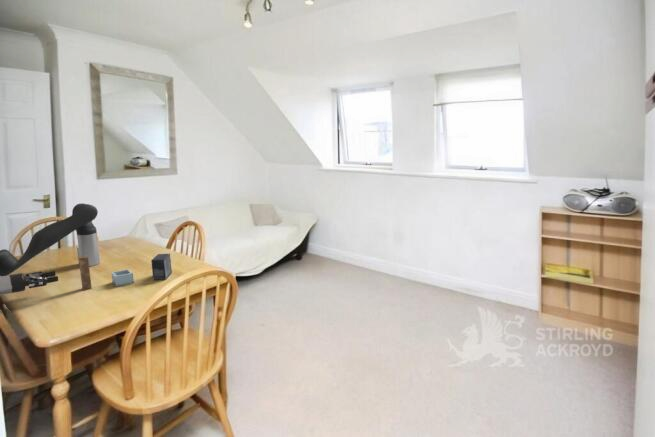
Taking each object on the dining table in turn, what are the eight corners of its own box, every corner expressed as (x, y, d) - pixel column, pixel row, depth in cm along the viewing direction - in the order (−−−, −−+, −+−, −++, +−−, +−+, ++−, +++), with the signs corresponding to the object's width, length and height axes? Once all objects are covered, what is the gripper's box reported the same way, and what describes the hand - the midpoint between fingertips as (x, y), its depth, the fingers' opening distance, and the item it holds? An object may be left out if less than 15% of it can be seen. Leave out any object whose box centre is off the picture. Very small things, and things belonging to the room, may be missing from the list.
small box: (159, 273, 205) (157, 253, 203) (172, 272, 206) (170, 253, 204) (152, 280, 195) (150, 259, 193) (166, 280, 196) (164, 259, 194)
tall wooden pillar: (83, 290, 182) (79, 258, 179) (82, 288, 184) (78, 256, 181) (91, 288, 184) (87, 257, 181) (90, 286, 186) (86, 255, 183)
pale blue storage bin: (116, 286, 186) (115, 276, 185) (112, 282, 192) (111, 272, 191) (133, 283, 191) (132, 273, 190) (129, 278, 197) (128, 269, 196)
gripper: (10, 287, 171) (55, 279, 182) (12, 298, 161) (60, 288, 171) (7, 271, 170) (53, 263, 180) (9, 280, 159) (57, 271, 170)
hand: (56, 275), depth 176 cm, fingers open, 8 cm apart
